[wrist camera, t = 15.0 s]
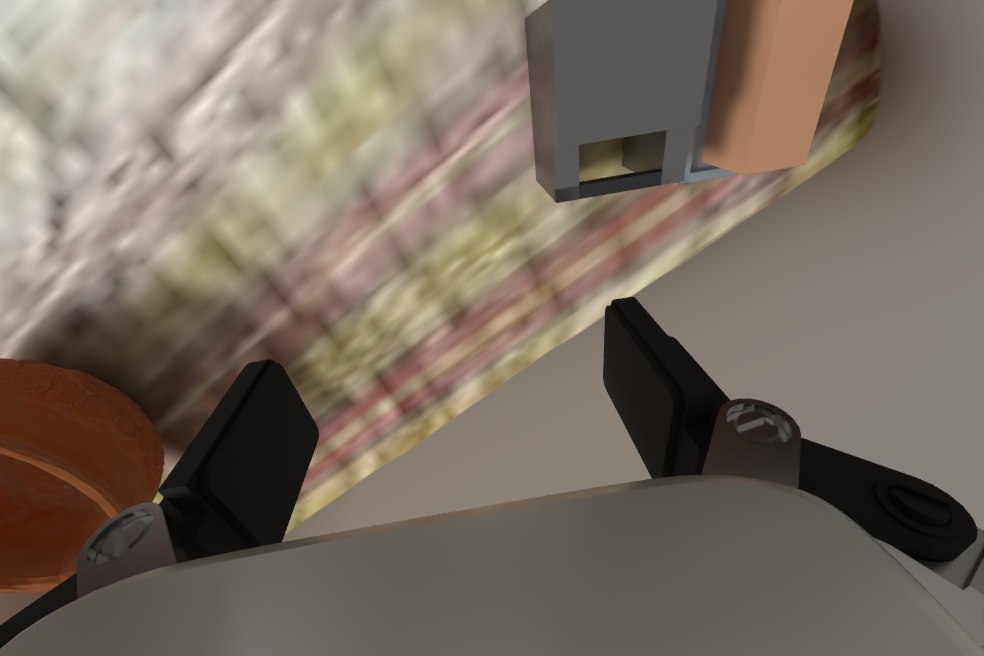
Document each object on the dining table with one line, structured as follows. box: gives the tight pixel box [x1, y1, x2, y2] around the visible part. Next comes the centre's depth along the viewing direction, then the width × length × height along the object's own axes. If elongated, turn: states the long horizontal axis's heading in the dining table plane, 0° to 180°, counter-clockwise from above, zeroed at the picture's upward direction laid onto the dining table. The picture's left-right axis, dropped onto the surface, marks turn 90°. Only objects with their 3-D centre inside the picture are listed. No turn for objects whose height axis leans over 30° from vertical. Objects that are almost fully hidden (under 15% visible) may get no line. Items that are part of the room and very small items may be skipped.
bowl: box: [0, 358, 164, 593], centre depth 38 cm, size 25×25×15 cm
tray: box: [677, 0, 738, 184], centre depth 32 cm, size 16×10×2 cm, turn 8°
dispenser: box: [525, 0, 718, 203], centre depth 29 cm, size 12×10×9 cm
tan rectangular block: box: [702, 0, 854, 175], centre depth 29 cm, size 13×5×6 cm, turn 8°
